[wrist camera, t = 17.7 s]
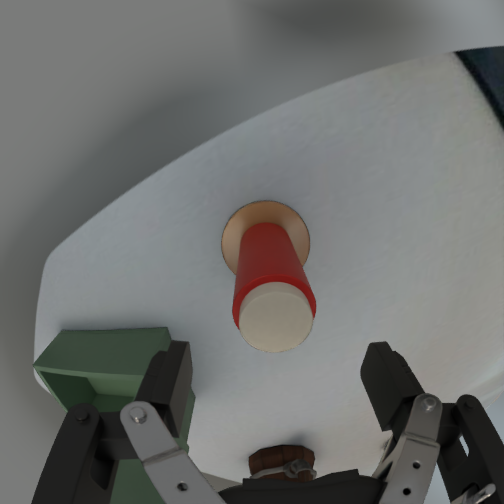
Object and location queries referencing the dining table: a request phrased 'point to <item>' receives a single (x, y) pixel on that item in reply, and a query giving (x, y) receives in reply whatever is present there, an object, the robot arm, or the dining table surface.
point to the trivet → (262, 214)
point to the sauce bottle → (271, 291)
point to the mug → (283, 464)
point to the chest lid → (137, 480)
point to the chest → (103, 367)
